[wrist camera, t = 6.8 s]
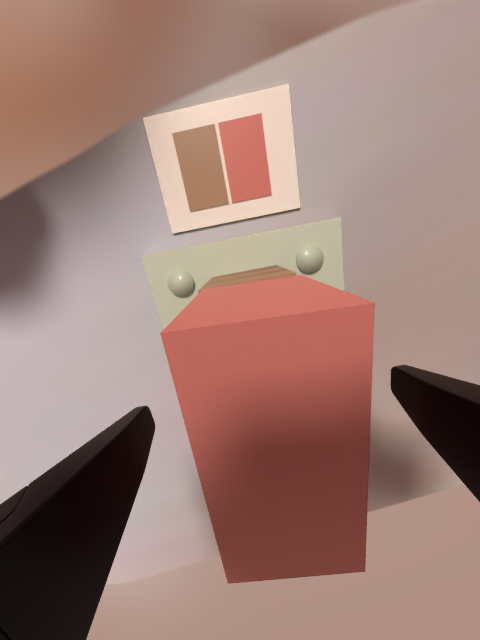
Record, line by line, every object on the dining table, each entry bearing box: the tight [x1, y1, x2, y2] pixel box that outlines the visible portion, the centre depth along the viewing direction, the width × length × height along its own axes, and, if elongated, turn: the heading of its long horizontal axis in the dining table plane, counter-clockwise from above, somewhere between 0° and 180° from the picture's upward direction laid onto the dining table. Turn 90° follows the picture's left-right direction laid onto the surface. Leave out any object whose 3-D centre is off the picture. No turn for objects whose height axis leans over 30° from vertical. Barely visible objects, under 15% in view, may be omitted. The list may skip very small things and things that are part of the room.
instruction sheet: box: [143, 84, 300, 234], centre depth 13 cm, size 8×6×1 cm
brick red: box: [161, 275, 374, 583], centre depth 8 cm, size 8×4×5 cm, turn 8°
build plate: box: [141, 217, 344, 330], centre depth 15 cm, size 12×12×1 cm
